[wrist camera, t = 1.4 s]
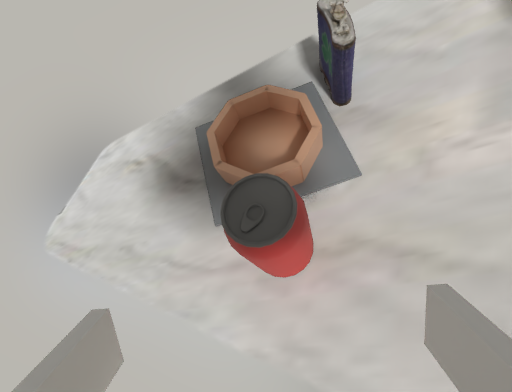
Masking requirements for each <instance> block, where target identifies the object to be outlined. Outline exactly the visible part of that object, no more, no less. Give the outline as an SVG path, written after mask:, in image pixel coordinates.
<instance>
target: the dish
mask: <svg viewBox="0 0 512 392" xmlns="http://www.w3.org/2000/svg"><path fill="white" fill-rule="evenodd" d="M206 134H207V138H208V142H209V147H210V151H211V156H212V160H213V165H214V167H215V169H216V170H217V171H218V172H219V174H220V175H221V176H222V178H223V179H224V180H225V181H226V182H227V183H229V184H232V185H234V184H235V183H236V182H237V181H239V180H241V179H242V178H244V177H246V176H249V175H252V174H256V173H268V174H272V175H275V176H278V177H280V178H281V179H283V180H284V181H286V182H287V183H288V184H289V185H290V186H294V185H297V184H299V183H302V182H303V181H305V179H306V177H307V175H308V173H309V171H310V169H311V167H312V166H313V164H314V162H315V160H316V158H317V156H318V154H319V152H320V150H321V149H322V147H323V141H322V125H321V123H320V121H319V119H318V117H317V115H316V113H315V111H314V109H313V107H312V105H311V103H310V101H309V99H308V97H307V95H306V94H305V93H302V92H298V91H293V90H289V89H284V88H280V87H276V86H271V85H265V86H262V87H260V88H257V89H255V90H252V91H250V92H247V93H245V94H243V95H240V96H238V97H235V98H233V99H230V100H229V101H227V103H226V104H225V106H224V107H223V109H222V110H221V112H220V113H219V115H218V116H217V117H216V119H215V120H214V122H213V123H212V125H211V126H210V128H209V129H208V131H207V133H206Z"/></svg>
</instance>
